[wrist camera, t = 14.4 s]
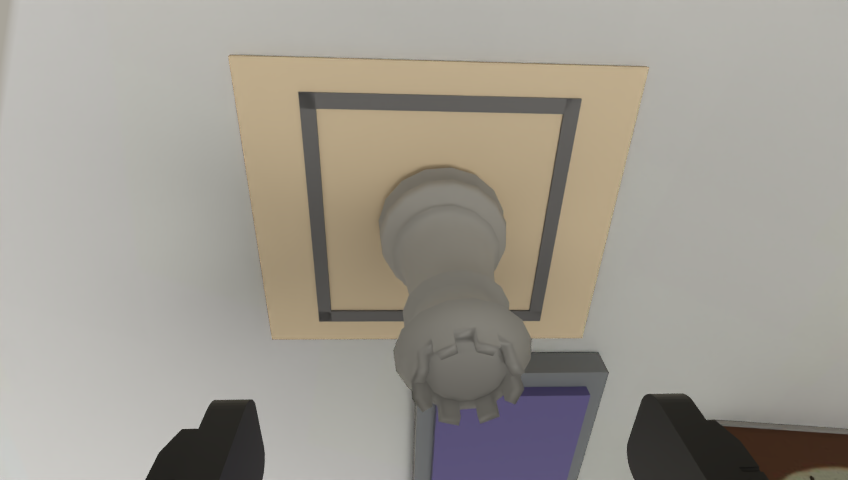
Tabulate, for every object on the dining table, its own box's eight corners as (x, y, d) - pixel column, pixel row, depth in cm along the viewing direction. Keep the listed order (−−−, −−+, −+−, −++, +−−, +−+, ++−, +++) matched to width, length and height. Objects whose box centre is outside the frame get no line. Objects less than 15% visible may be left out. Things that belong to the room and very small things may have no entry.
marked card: (580, 335, 21) (583, 339, 20) (273, 336, 20) (271, 340, 20) (646, 66, 15) (650, 68, 15) (230, 54, 15) (227, 56, 14)
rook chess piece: (417, 138, 16) (431, 268, 9) (526, 198, 17) (613, 352, 10) (357, 242, 18) (330, 417, 11) (460, 289, 19) (495, 473, 12)
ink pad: (559, 493, 26) (569, 524, 25) (412, 496, 26) (413, 528, 24) (598, 352, 21) (613, 381, 20) (417, 353, 21) (418, 382, 19)
